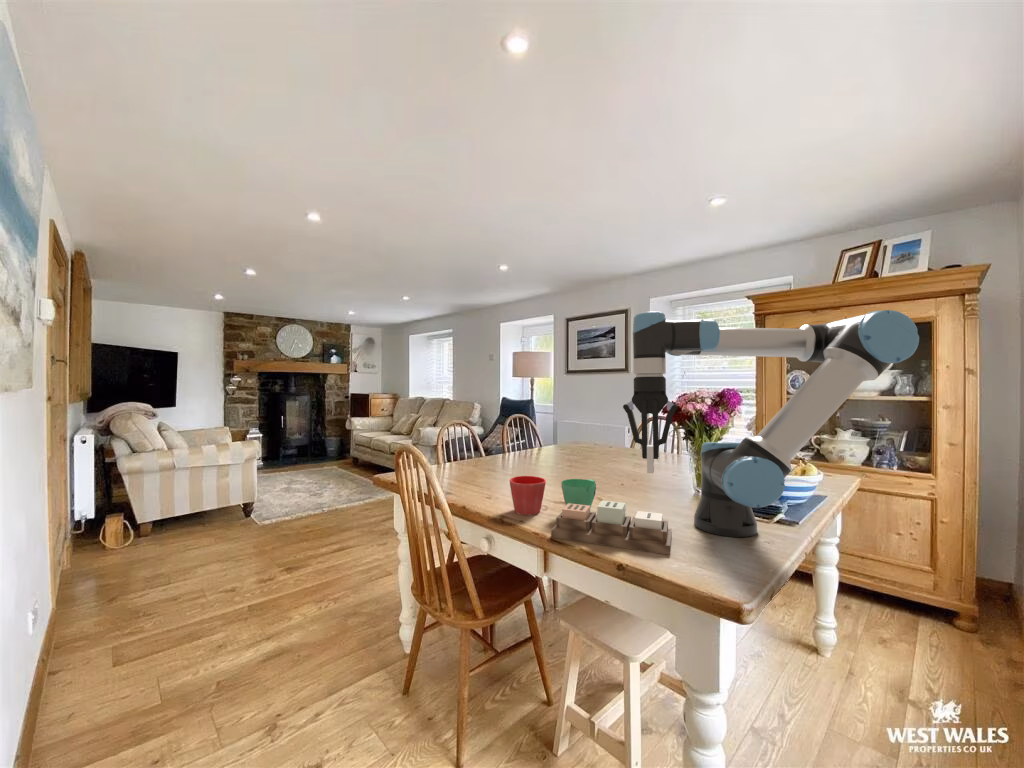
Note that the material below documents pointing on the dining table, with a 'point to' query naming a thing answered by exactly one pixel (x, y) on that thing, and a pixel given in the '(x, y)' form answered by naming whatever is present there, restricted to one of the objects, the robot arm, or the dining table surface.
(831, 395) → the robot arm
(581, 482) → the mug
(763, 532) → the dining table surface
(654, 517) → the tile
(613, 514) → the tile
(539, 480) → the flower pot
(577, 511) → the tile
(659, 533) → the tile rack
